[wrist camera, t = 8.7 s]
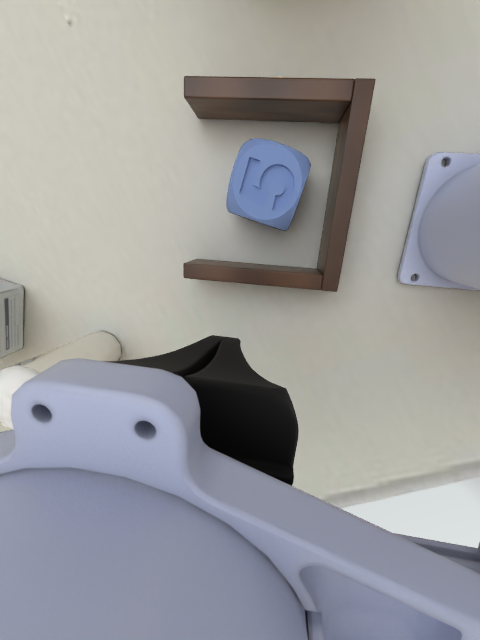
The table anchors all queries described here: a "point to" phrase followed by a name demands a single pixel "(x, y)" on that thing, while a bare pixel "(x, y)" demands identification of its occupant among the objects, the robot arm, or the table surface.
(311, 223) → the table surface
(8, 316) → the cosmetics box
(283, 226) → the decorative dice
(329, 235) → the walnut bay
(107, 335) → the milkshake
